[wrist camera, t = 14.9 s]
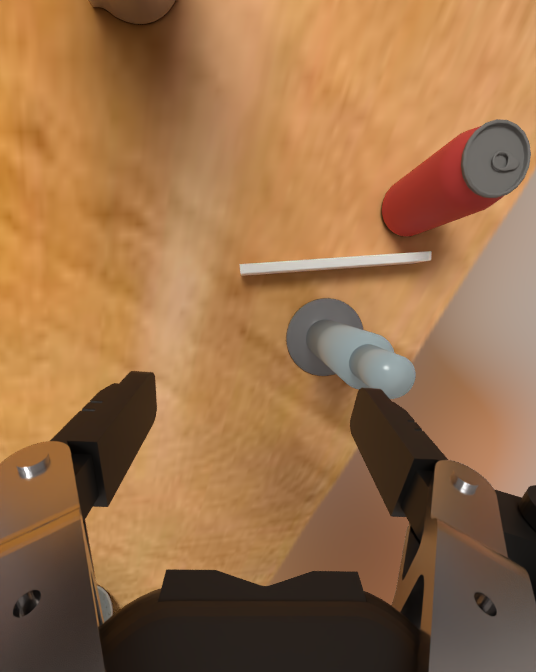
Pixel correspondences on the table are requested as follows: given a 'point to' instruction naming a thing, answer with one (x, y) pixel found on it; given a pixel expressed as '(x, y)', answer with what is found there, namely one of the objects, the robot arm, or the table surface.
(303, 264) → the wall
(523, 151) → the beer can
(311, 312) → the coaster
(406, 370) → the grey bottle
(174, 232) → the table surface
